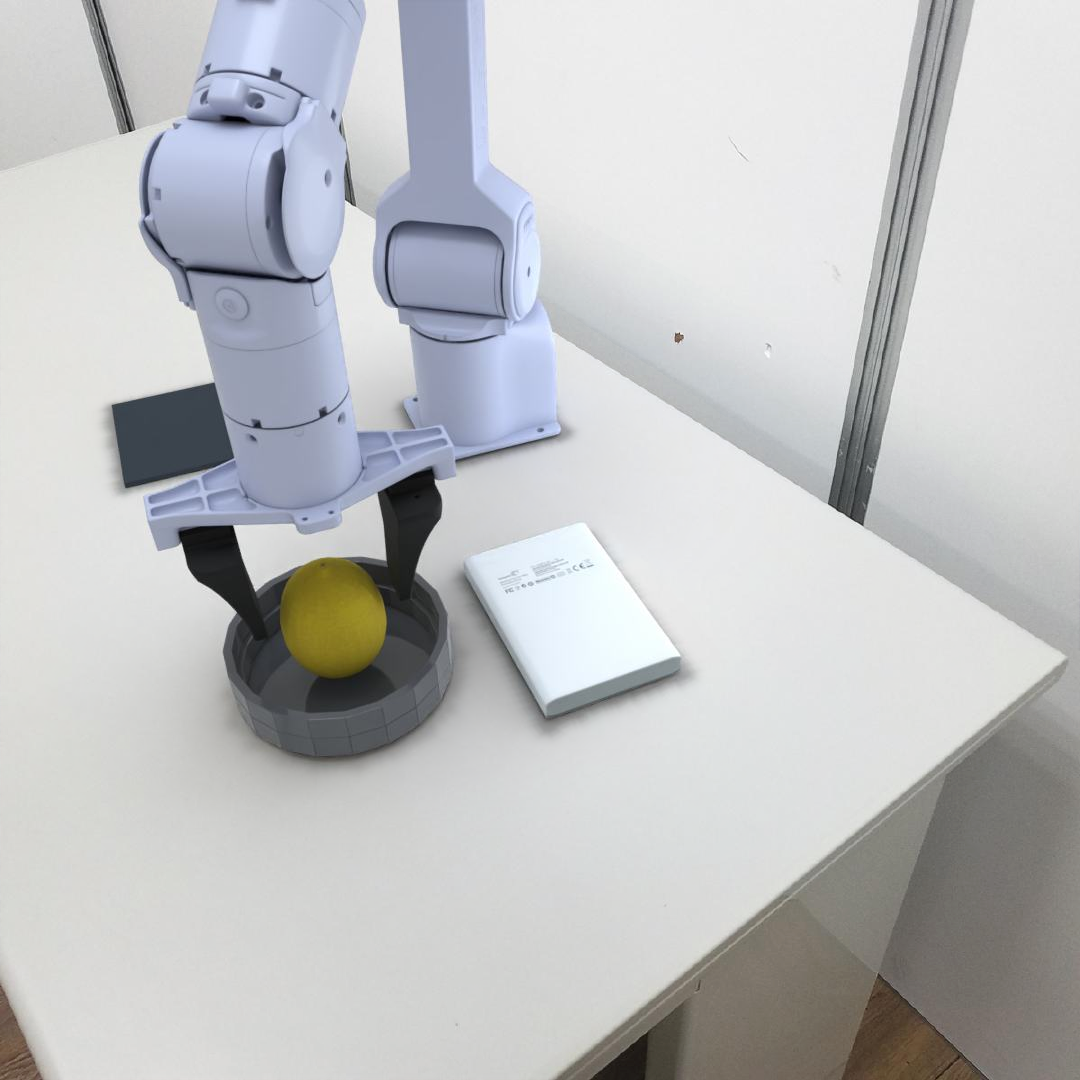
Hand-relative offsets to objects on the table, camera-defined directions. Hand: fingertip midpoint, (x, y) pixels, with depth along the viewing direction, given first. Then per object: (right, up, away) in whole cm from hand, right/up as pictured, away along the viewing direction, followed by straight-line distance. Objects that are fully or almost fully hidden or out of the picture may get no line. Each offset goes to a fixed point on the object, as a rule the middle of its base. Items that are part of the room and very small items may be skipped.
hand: (330, 607), depth 59 cm
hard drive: (+13, -1, +6) cm, 14 cm away
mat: (-14, +11, +21) cm, 28 cm away
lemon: (0, -4, +3) cm, 5 cm away
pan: (0, -4, +4) cm, 5 cm away
